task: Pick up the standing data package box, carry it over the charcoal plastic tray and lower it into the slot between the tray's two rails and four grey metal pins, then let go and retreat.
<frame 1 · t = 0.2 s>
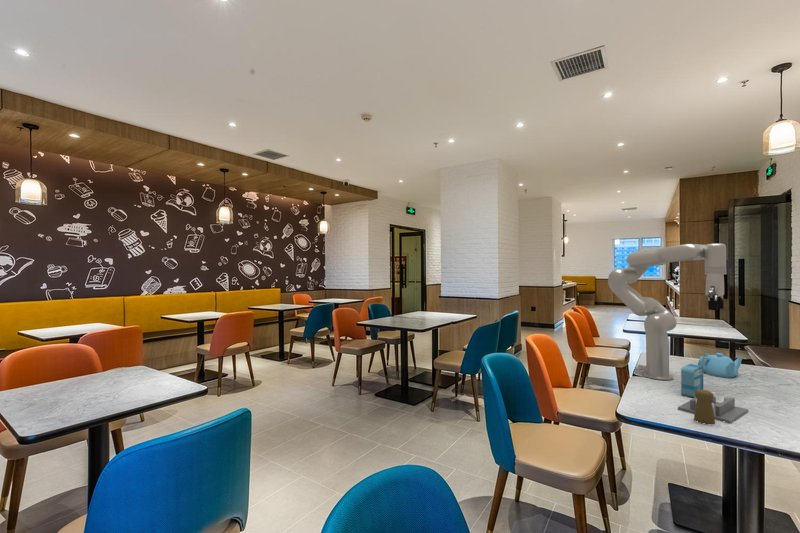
hand: (716, 309, 169), 36 cm above the table, tool pointing down, fingers open, 9 cm apart
cork: (704, 421, 135), on the table
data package: (692, 394, 164), on the table
tray: (712, 410, 145), on the table
teapot: (720, 374, 193), on the table
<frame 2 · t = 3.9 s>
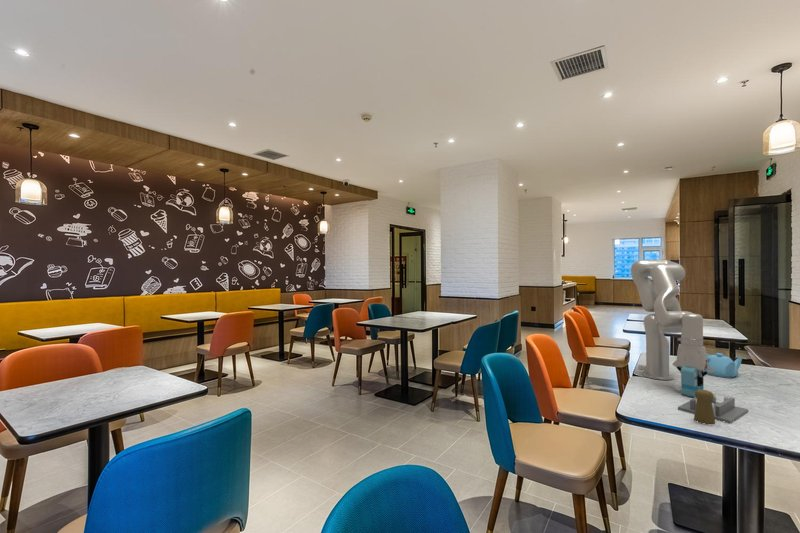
hand: (692, 383, 164), 4 cm above the table, tool pointing down, fingers closed on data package, 4 cm apart
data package: (692, 394, 164), on the table, touching gripper
everything else where it was.
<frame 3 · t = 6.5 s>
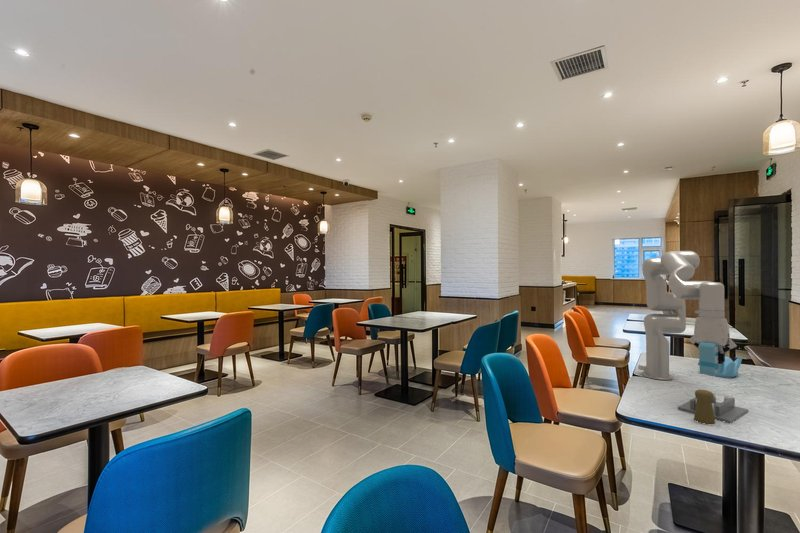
hand: (712, 361, 145), 19 cm above the table, tool pointing down, fingers closed on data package, 4 cm apart
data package: (712, 373, 145), point 14 cm above the table, touching gripper
everything else where it was.
when the fingers open (7 cm above the table, at t = 9.3 s): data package drops 2 cm, resting on tray.
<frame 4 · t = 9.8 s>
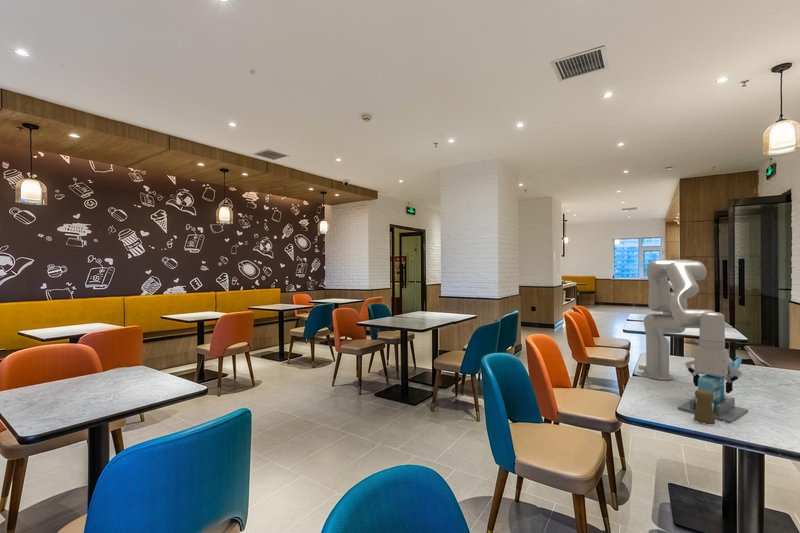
hand: (712, 389, 145), 8 cm above the table, tool pointing down, fingers open, 9 cm apart
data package: (711, 408, 145), point 1 cm above the table, touching tray
everything else where it was.
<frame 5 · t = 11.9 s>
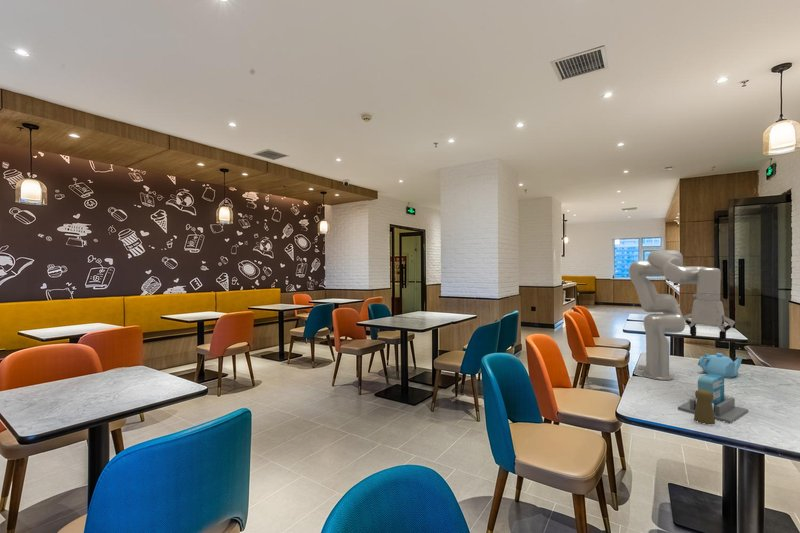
hand: (707, 338, 157), 25 cm above the table, tool pointing down, fingers open, 9 cm apart
nothing on the table moved.
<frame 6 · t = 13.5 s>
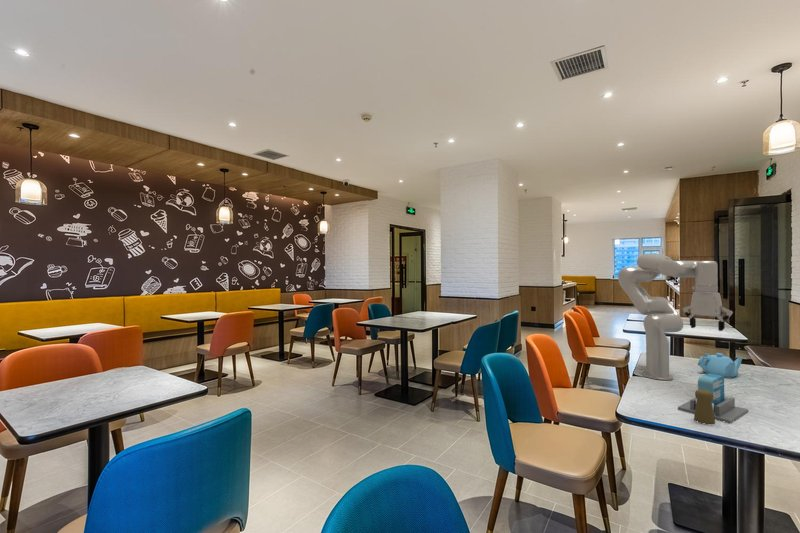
hand: (706, 329, 163), 28 cm above the table, tool pointing down, fingers open, 9 cm apart
nothing on the table moved.
at the end: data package 0.4 cm off-centre on the tray, point 0.8 cm above the tray's base; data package tilted 0°; the gripper is holding nothing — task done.
